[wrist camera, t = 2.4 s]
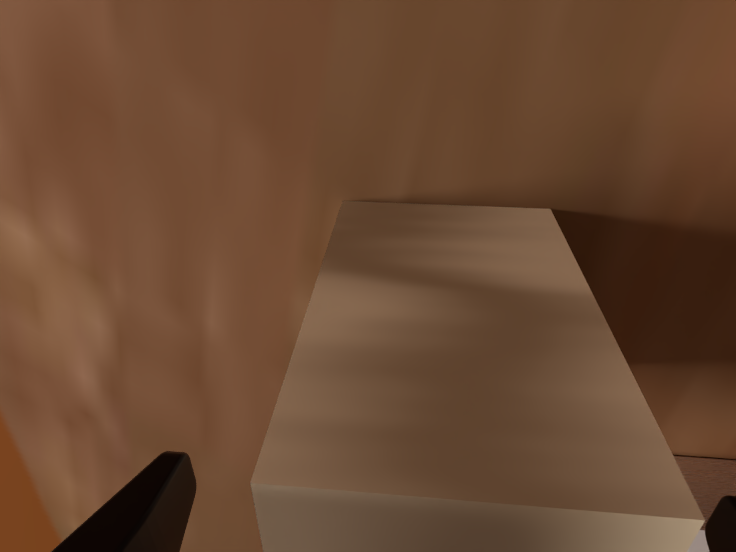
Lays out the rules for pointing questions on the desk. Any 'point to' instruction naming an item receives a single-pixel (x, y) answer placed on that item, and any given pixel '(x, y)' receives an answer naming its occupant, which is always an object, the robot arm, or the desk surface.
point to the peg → (462, 400)
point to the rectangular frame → (707, 488)
